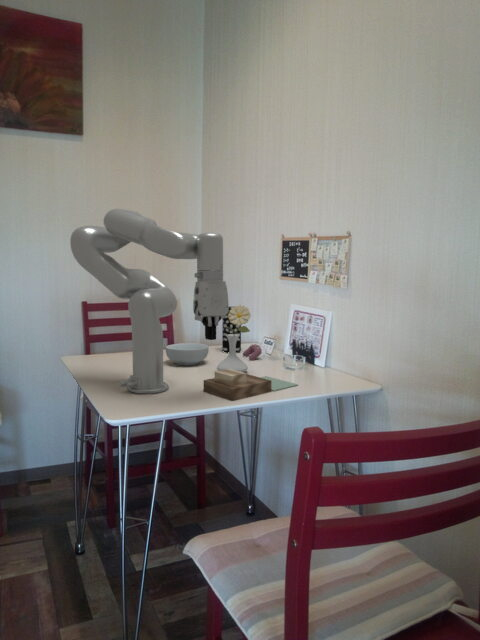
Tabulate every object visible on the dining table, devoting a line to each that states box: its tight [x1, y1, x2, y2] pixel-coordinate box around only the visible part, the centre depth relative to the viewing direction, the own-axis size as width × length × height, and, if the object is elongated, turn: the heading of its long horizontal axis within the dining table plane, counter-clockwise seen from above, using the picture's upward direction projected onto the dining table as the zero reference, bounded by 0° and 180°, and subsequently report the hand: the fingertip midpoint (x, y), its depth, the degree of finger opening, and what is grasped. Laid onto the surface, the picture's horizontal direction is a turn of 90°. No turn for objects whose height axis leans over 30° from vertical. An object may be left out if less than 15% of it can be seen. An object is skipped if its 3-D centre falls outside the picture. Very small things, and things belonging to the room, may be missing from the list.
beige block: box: [214, 369, 247, 386], centre depth 149 cm, size 6×8×3 cm
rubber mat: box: [260, 375, 299, 393], centre depth 161 cm, size 12×15×1 cm
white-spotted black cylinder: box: [221, 306, 242, 353], centre depth 217 cm, size 8×8×20 cm
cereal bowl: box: [165, 342, 210, 366], centre depth 192 cm, size 17×17×7 cm
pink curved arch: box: [242, 343, 263, 361], centre depth 203 cm, size 10×5×7 cm, turn 17°
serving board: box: [203, 373, 272, 401], centre depth 151 cm, size 16×14×4 cm
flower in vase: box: [216, 304, 252, 373], centre depth 175 cm, size 13×11×25 cm
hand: (210, 339), depth 142 cm, fingers closed
